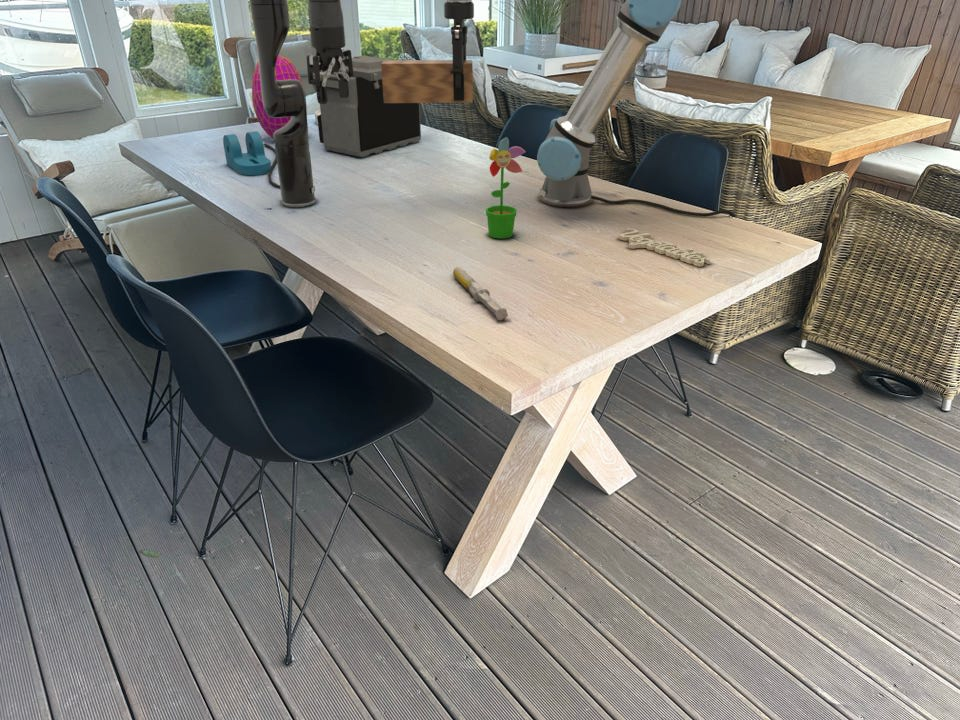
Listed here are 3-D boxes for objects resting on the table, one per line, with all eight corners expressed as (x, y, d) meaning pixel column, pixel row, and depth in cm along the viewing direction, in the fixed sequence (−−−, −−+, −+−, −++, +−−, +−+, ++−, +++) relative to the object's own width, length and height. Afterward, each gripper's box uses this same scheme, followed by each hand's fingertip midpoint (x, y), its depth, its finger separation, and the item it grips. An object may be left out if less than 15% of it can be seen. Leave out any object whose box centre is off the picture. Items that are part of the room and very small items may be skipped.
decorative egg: (293, 132, 276) (283, 50, 261) (319, 140, 264) (310, 56, 249) (249, 139, 265) (236, 54, 250) (273, 148, 253) (261, 60, 238)
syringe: (449, 274, 155) (449, 263, 153) (465, 272, 156) (464, 260, 154) (490, 323, 135) (491, 310, 133) (508, 319, 136) (508, 307, 134)
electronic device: (383, 133, 276) (378, 52, 261) (425, 141, 265) (422, 56, 250) (314, 150, 251) (304, 61, 235) (358, 160, 240) (350, 67, 224)
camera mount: (227, 164, 233) (221, 132, 227) (257, 160, 238) (252, 129, 233) (244, 176, 220) (239, 143, 215) (276, 172, 225) (271, 139, 220)
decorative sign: (605, 235, 174) (629, 227, 180) (604, 239, 175) (629, 230, 181) (694, 266, 158) (718, 256, 163) (693, 270, 158) (717, 260, 164)
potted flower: (492, 242, 172) (494, 140, 160) (478, 232, 178) (479, 133, 166) (525, 236, 176) (529, 136, 163) (510, 227, 182) (513, 130, 169)
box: (472, 98, 187) (472, 60, 182) (472, 102, 182) (472, 63, 177) (386, 99, 187) (383, 60, 182) (383, 103, 182) (381, 63, 177)
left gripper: (331, 21, 160) (338, 94, 168) (292, 25, 149) (301, 104, 157) (358, 22, 157) (364, 97, 165) (321, 27, 146) (328, 107, 154)
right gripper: (448, -1, 181) (450, 91, 193) (439, 3, 164) (442, 104, 176) (476, -1, 181) (476, 92, 192) (470, 3, 164) (471, 104, 176)
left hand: (333, 100), depth 161 cm, fingers open, 8 cm apart
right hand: (460, 97), depth 184 cm, fingers closed on box, 6 cm apart
